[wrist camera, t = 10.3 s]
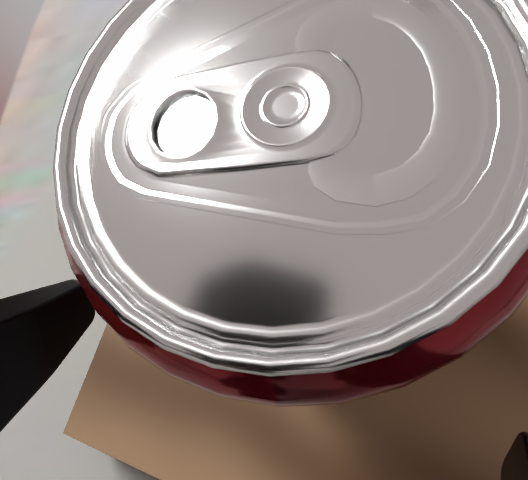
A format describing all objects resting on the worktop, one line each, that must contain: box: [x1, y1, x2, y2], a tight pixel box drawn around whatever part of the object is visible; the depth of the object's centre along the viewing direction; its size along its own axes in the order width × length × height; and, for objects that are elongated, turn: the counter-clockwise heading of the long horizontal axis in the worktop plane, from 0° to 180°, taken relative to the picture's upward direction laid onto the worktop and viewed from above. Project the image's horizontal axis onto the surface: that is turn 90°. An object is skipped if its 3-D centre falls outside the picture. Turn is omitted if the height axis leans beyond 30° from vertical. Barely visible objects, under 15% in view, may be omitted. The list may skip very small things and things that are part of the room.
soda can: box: [53, 0, 528, 407], centre depth 11 cm, size 7×7×12 cm
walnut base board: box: [63, 295, 528, 480], centre depth 18 cm, size 18×18×2 cm
